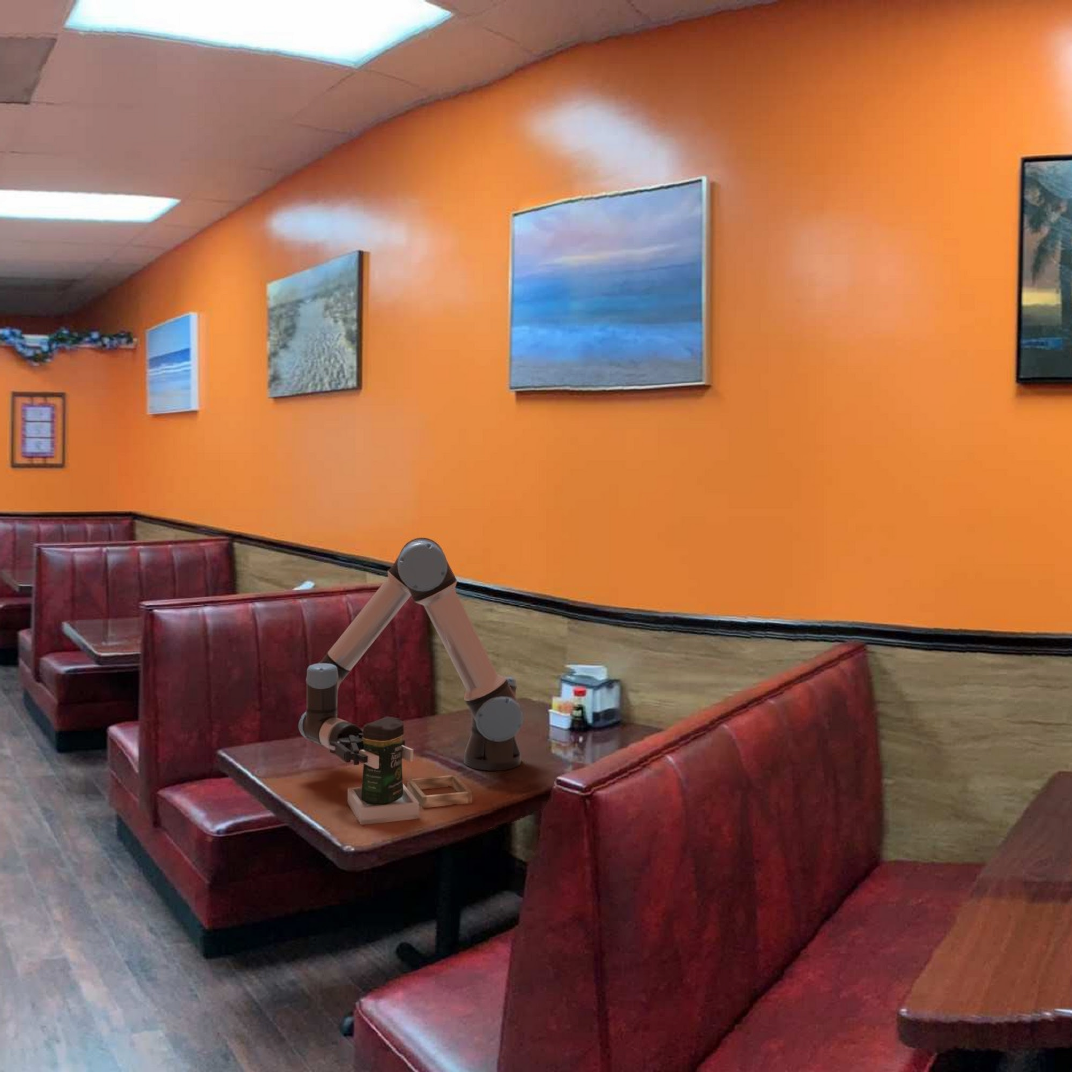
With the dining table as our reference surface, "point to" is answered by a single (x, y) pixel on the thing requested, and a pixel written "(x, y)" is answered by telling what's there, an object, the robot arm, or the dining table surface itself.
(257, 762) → the dining table surface
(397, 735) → the coffee jar
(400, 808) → the parts tray
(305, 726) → the robot arm
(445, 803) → the holder collar
